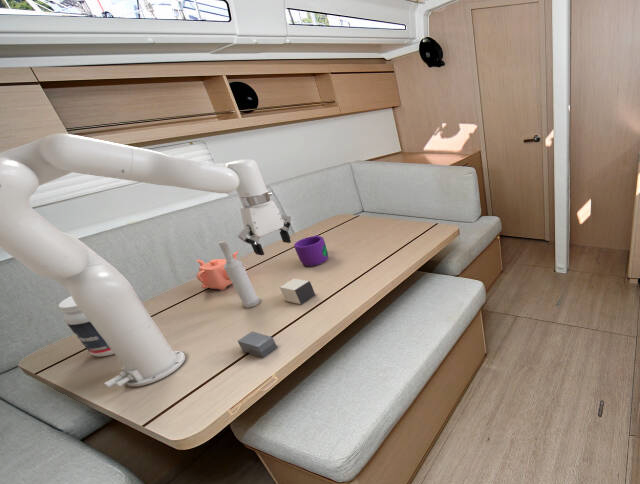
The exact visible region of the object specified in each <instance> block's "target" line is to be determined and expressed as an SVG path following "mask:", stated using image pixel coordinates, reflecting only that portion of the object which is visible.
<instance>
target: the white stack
mask: <svg viewBox="0 0 640 484" xmlns="http://www.w3.org/2000/svg"><path fill="white" fill-rule="evenodd" d="M281 294H282V295H283V299H284V301H285V302H288V303H295V304H298V305H303V304H304V303H306V302H308V301H309V300H310V299H312V298H313V297H315V296H316V293H315V290H314V288H313V285H312V286H311V287H310V288H308V289H306V290H305V291H303V292H302V293H300V294H299V295H295V294H290V293H285V292H281Z"/></svg>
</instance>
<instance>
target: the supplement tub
mask: <svg viewBox="0 0 640 484" xmlns="http://www.w3.org/2000/svg"><path fill="white" fill-rule="evenodd" d="M58 308H59V310H60V312H61V313H63V318H62V319H63V321H64V323H65V324H66V325H67V326H68V327H69V328H70V330H71V331H72V332H73V334H74V335H75V336H76V338H78V340H79V341H80V342H81V344H82V345H83V346H84V348H85V349H86V350H87V351H88V353H89V354H90V355H92V356H94V357H107V356H113V355H115V354H114V352H113V351H112V350H111V348H110V347H109V346H108V344H107V343H106V342H105V340H104V339H103V338H102V337H101V336H100V334H99V333H98V332H97V330H96V329H95V328H94V326H93V325H92V324H91V322H90V321H89V320H88V319H87V317H86V316H85V315H84V314H83V313H82V312H81V310H80V309H79V308H78V306H77V305H76V304H75V302H74V300H73V298H72V297H71V295H70V296H68V297H66V298H64V299H63V300H62V301H61V302H59V303H58Z"/></svg>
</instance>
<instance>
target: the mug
mask: <svg viewBox="0 0 640 484" xmlns="http://www.w3.org/2000/svg"><path fill="white" fill-rule="evenodd" d="M293 246H294V250H295V253H296V254H297V255H296V256H297V257H298V259H299V261H300V262H301V264H302V265H303V266H306V267H316V266H319V265H321V264H323V263H325V262H327V260H328V258H329V253H328V252H329V251H328V249H327V246H326V242H325V240H324V237H323V236H320V235H318V234H317V235H316V234H315V235H314V236H313V235H312V236H308V237H305V238H301V239H299V240H298V241H296V242H294V245H293Z"/></svg>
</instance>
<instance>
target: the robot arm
mask: <svg viewBox="0 0 640 484" xmlns="http://www.w3.org/2000/svg"><path fill="white" fill-rule="evenodd" d="M72 173H75V174H82V175H88V176H95V177H101V178H102V177H103V178H111V179H118V180H124V181H130V182H137V183H144V184H151V185H155V186H166V187H167V186H168V187H175V188H181V189H182V188H183V189H187V190H188V189H189V190H194V191H202V192H208V193H209V192H210V193H216V194H229V193H233V192H234V191H235V190H236V193H237V195H238V198H239V200H240V203H241V205H242V206H240V207H239V208H240V209H239V210H240V215H241V221H242V223H243V227H244V228H243V229H242V230H241V231H240V232H239V233H238V235H237V237H238V239H240V240H241V241H242V242H244V243H247V244H249V245H251V247H252V250H253V252H254V254H256V255H257V256H264V255H265V252H264V249H263V247H262V244H261V243H259V242H260V239H261V237H264V236H266V235H269V234H272V233H275V232H276V231H279V235H280V238H281V240H282V242H283V243H286V244H290V243H292V240H291V237H290V233H289V231H290V227H291V220H292V218H291V216H290V215H282V214H281V212H280V210H279V208H278V207H277V205H276V203H275V202H274V201H273V199H271V196H273V193H272V192H271V191H268V189H267V186H266V184H265V182H264V178H263V176H262V173H261V170H260V168H259V165H258V163H257V161H256V160H255V159H253V158H252V159H251V158H246V159H237V160H232V161H230V162H222V163H207V162H201V161H196V160H191V159H186V158H183V157H182V158H181V157H177V156H174V155H170V154H166V153H163V152H160V151H155V150H152V149H148V148H142V147H137V146H131V145H127V144H121V143H118V142H117V143H116V142H112V141H108V140H107V141H106V140H102V139H96V138H92V137H86V136H81V135H76V134H71V133H61V132H59V133H52V134H49V135H47V136H43V137H41V138H39V139H36V140H34V141H30V142H28V143H25V144H22V145H18V146H16V147H13V148H9V149H7V150H4V151H1V152H0V249H1V250H2V251H4V252H5V253H7V254H8V255H10V256H11V257H12V258H14V259H15V260H17V261H18V262H20V263H21V264H22V265H24V266H25V267H26V268H27V269H28V270H29V271H31V272H32V273H33V274H36V275H38V276H41V277H44V278H48V279H49V278H50V279H51V280H53V281H54V282H55V283H57V284H58V285H60V286H61V287H63V288H64V289H66V290H67V291H68V292H69V295H70V296H71V297H72V298H73V300H74V302H75V304H76V305H77V306H78V308H79V309H80V310H81V312H82V313H83V314H84V315H85V316H86V317H87V319H88V320H89V321H90V322H91V324H92V325H93V326H94V328H95V329H96V330H97V332H98V333H99V334H100V336H101V337H102V338H103V339H104V340H105V342H106V343H107V344H108V346H109V347H110V348H111V350H112V351H113V352H114V354H113V355H115V357H116V358H117V360H118V361H119V362H120V363H121V365H122V367H121V368H120V370H121V372H119V373H118V375H115V376H114V377H112V378H110V379H109V380H107V381H105V382H104V383H103V385H104V386H105V387H106V389H108V390H109V389H112V388H113V387H115V386H117V387H118V388H120V387H121V386H123V385H125V384H126V385H127V386H129V387H143V386H147V385H151V384H152V383H155V382H158V381H160V380H163V379H164V378H166V377H168V376H169V375H171V374H172V373H174V372H175V371H177V370H178V369H179V368H180V367H181V366H182V365H183V364H184V362H185V361H186V355H185V353H184V352H183V351H181V350H173V348H172V347H171V345H170V344H169V342H168V340H167V339H166V338H165V336H164V335H163V332H162V331H161V329H159V327H158V325H157V324H156V322H155V321H154V320H153V318H152V316H151V315H150V313H149V312H148V310H147V309H146V307H145V306H144V304H143V302H142V301H141V299H140V297H139V296H138V295H137V293H136V291H135V289H134V288H133V285H131V282H130V281H129V280H128V279H127V278H126V277H125V276H124V275H123V274H122V272H121V271H119V270H118V269H117V268H116V267H114V266H113V265H112V264H111V263H110V262H108V261H107V260H106V259H105V258H103V257H102V256H101V255H99V254H98V253H97V252H95V251H94V250H93V249H91V248H90V246H88V245H87V244H85V243H84V242H83V241H82V240H80V239H79V238H78V237H76V236H74V235H72V234H69V233H66V232H63V231H61V230H59V229H58V228H57V227H56V226H54V225H53V224H52V223H51V222H50V221H49V220H48V219H46V218H45V217H44V216H42V215H41V214H40V213H38V212H37V211H36V210H35V209H34V208H33V207H32V206H31V202H30V200H31V197H32V196H33V195H34V194H35V193H36V192H37V190H38V188H39V187H40V186H42V185H45V184H47V183H50V182H52V181H55V180H58V179H60V178H62V177H64V176H67V175H70V174H72ZM248 236H249V238H248Z"/></svg>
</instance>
